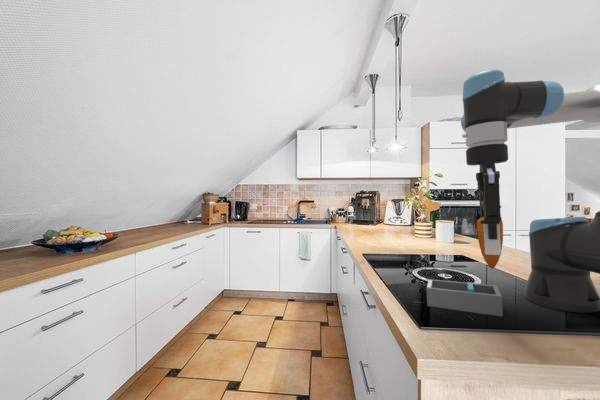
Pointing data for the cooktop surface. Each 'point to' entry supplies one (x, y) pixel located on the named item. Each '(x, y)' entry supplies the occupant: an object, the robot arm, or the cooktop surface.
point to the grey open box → (464, 297)
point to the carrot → (489, 259)
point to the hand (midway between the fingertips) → (491, 251)
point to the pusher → (470, 287)
